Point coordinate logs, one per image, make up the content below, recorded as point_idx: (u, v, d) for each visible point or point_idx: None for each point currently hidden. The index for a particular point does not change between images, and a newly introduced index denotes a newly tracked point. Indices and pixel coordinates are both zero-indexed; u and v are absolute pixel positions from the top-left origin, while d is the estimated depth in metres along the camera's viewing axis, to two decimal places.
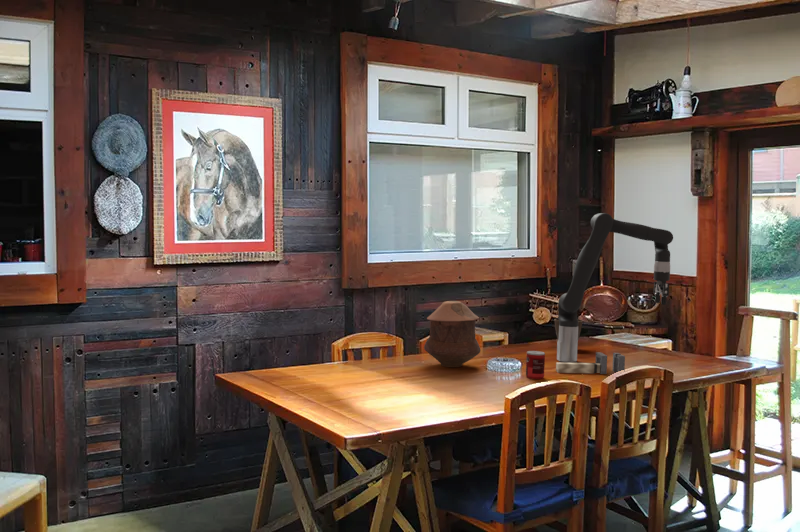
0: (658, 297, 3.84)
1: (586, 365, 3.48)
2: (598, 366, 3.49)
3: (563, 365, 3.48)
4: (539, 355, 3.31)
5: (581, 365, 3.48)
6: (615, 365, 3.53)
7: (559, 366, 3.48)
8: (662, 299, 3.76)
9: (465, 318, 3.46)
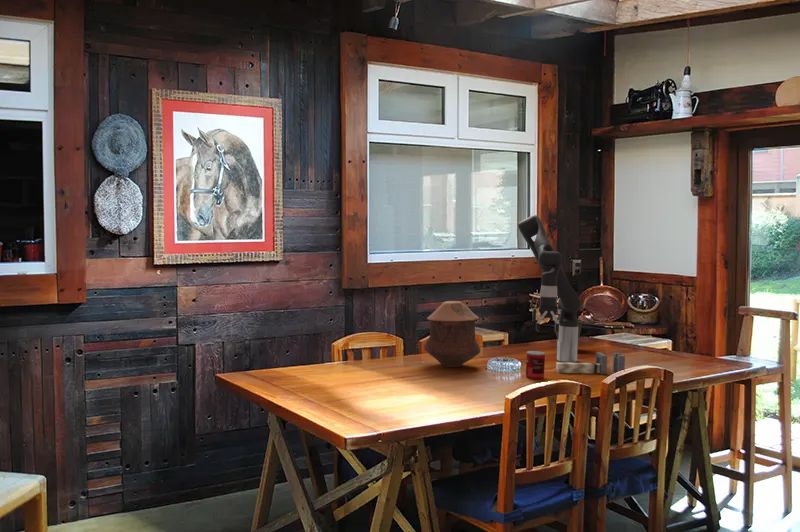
0: None
1: (586, 365, 3.48)
2: (598, 366, 3.49)
3: (563, 365, 3.48)
4: (539, 355, 3.31)
5: (581, 365, 3.48)
6: (615, 365, 3.53)
7: (559, 366, 3.48)
8: (557, 326, 3.48)
9: (465, 318, 3.46)
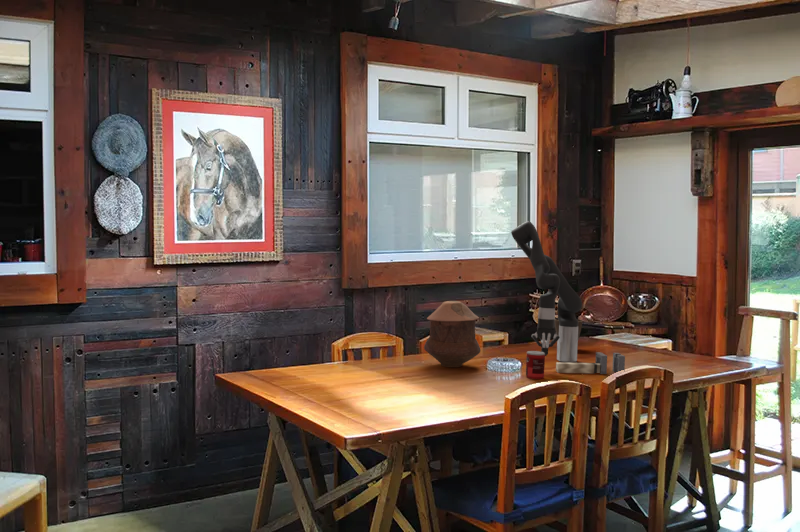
0: None
1: (586, 365, 3.48)
2: (598, 366, 3.49)
3: (563, 365, 3.48)
4: (539, 355, 3.31)
5: (581, 365, 3.48)
6: (615, 365, 3.53)
7: (559, 366, 3.48)
8: (546, 350, 3.49)
9: (465, 318, 3.46)
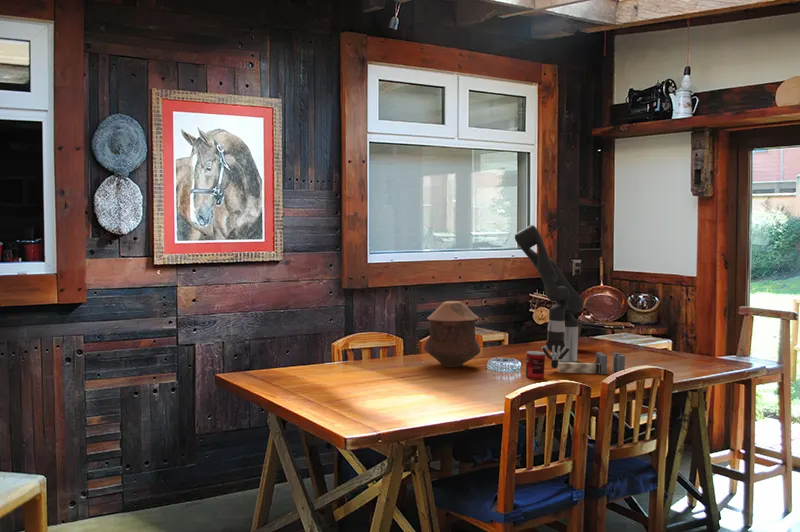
0: None
1: (588, 365, 3.48)
2: None
3: (565, 365, 3.48)
4: (539, 355, 3.31)
5: (583, 365, 3.48)
6: (615, 365, 3.53)
7: (561, 366, 3.48)
8: (556, 363, 3.49)
9: (465, 318, 3.46)
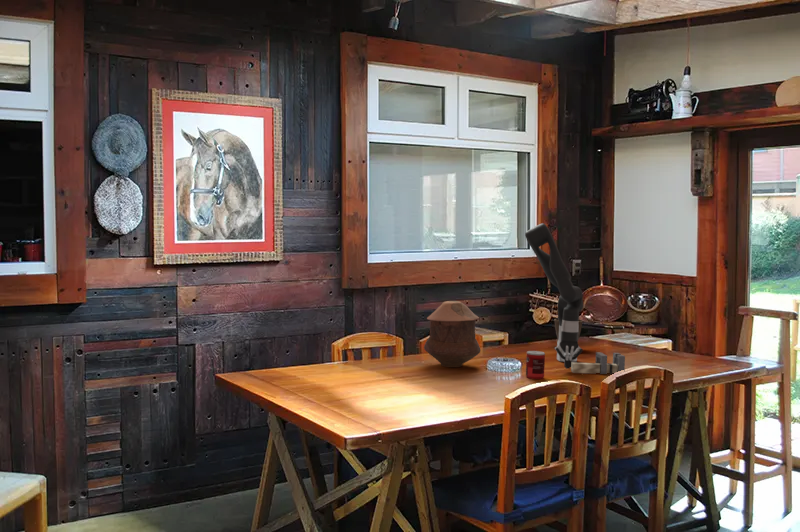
0: None
1: None
2: (613, 366, 3.48)
3: (579, 365, 3.48)
4: (539, 355, 3.31)
5: (596, 365, 3.48)
6: None
7: (574, 366, 3.48)
8: (569, 363, 3.49)
9: (465, 318, 3.46)
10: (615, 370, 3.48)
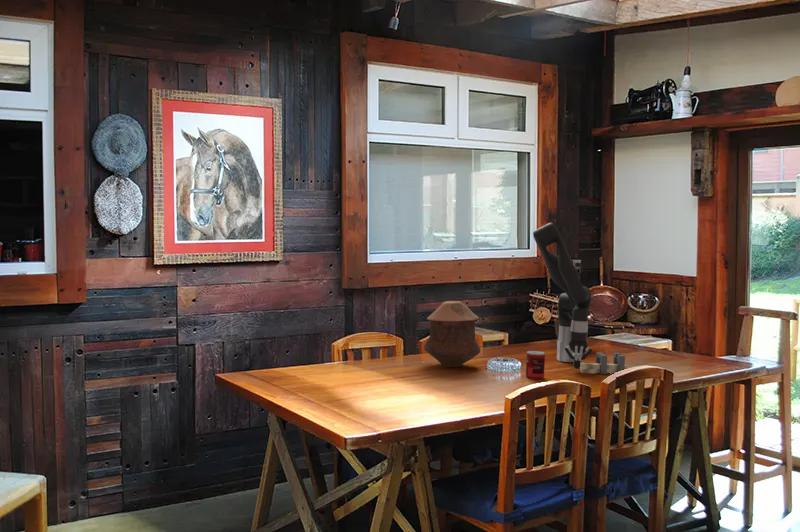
0: None
1: (610, 365, 3.48)
2: None
3: (588, 366, 3.48)
4: (539, 355, 3.31)
5: None
6: None
7: (583, 366, 3.48)
8: (578, 363, 3.50)
9: (465, 318, 3.46)
10: None
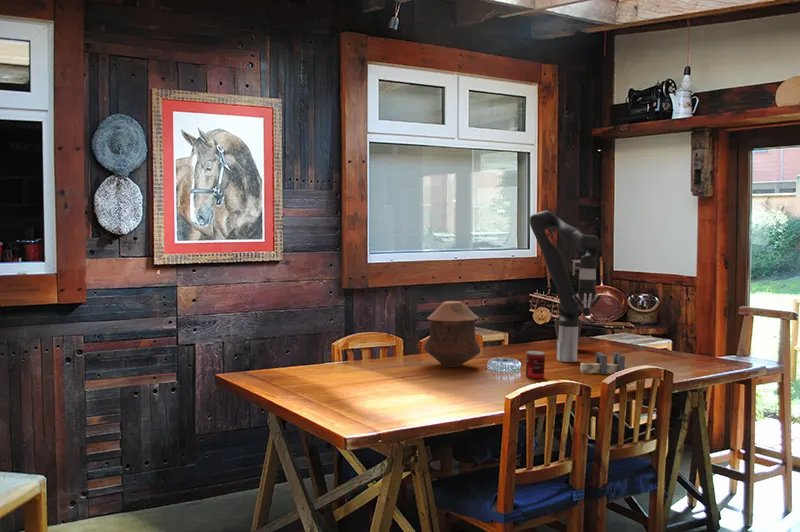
0: None
1: (610, 366, 3.48)
2: None
3: (588, 366, 3.48)
4: (539, 355, 3.31)
5: None
6: None
7: (583, 367, 3.48)
8: (588, 310, 3.56)
9: (465, 318, 3.46)
10: None
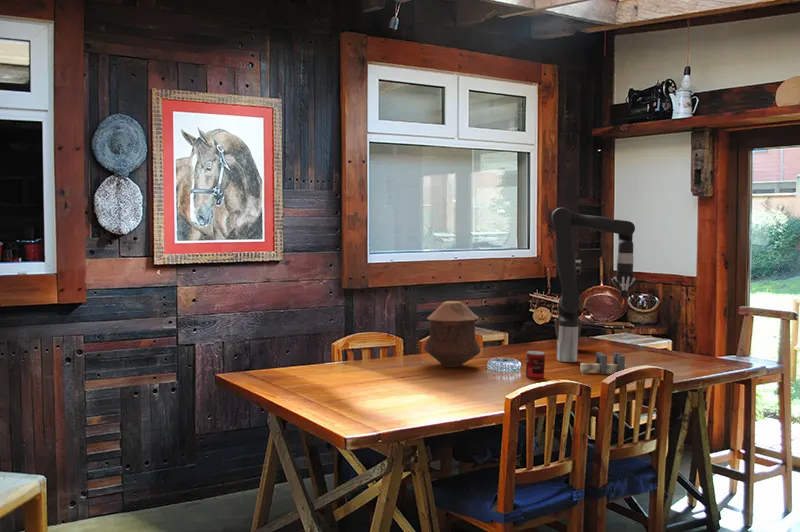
0: None
1: (610, 366, 3.48)
2: None
3: (588, 366, 3.48)
4: (539, 355, 3.31)
5: None
6: None
7: (583, 367, 3.48)
8: (625, 293, 3.74)
9: (465, 318, 3.46)
10: None
